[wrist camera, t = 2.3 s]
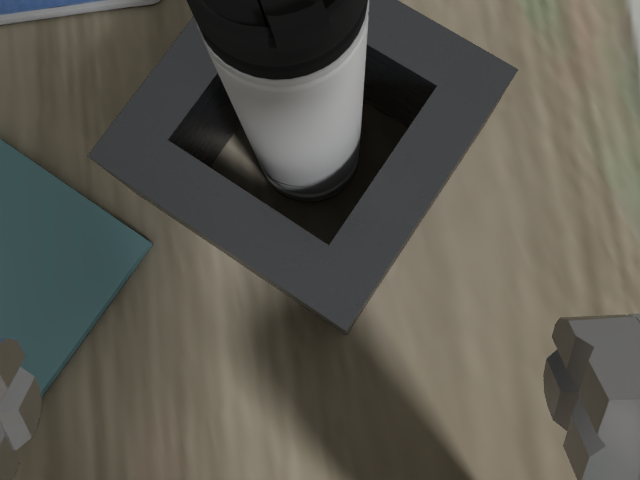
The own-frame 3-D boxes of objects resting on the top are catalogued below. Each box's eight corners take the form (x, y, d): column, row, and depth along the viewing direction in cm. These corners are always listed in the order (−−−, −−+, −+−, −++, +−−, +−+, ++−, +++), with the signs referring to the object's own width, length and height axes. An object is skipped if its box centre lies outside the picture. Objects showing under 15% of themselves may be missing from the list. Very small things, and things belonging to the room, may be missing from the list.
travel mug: (278, 220, 37) (201, 68, 17) (248, 125, 38) (143, -119, 18) (374, 189, 37) (407, 2, 17) (341, 95, 38) (335, -179, 18)
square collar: (486, 121, 37) (518, 69, 30) (346, 335, 35) (346, 330, 28) (278, -2, 40) (264, -77, 33) (134, 192, 37) (87, 156, 31)
